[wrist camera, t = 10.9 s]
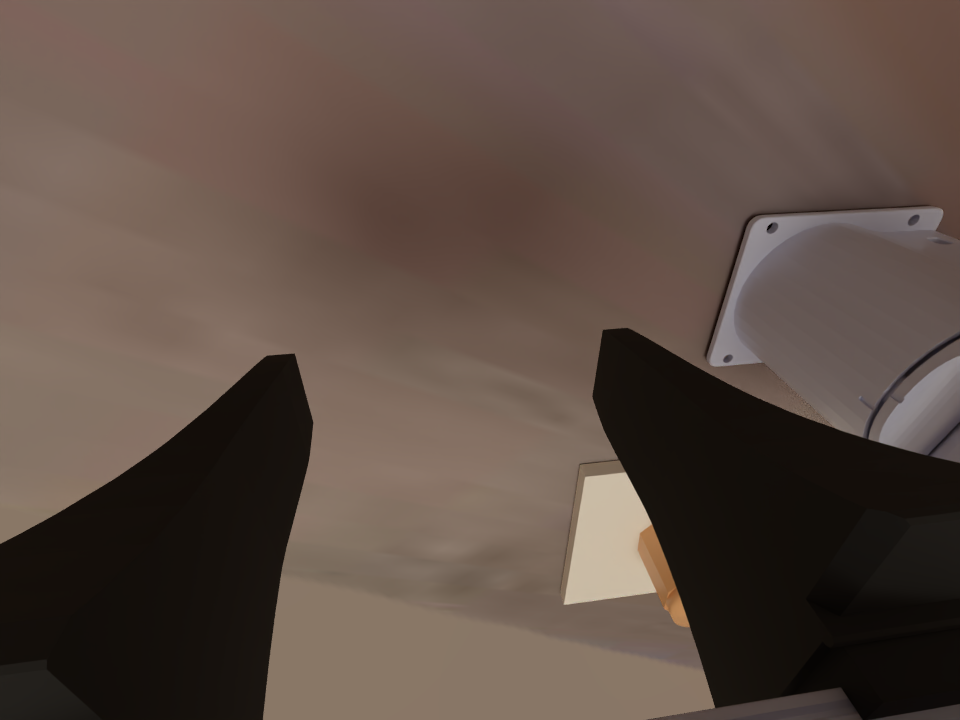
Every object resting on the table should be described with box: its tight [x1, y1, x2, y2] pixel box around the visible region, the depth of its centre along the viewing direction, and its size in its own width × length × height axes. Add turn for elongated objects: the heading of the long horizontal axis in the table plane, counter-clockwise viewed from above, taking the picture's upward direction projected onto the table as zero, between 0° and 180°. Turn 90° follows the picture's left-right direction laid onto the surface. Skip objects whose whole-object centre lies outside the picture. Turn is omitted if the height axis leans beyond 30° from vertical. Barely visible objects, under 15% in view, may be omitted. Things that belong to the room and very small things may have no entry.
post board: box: [560, 460, 656, 605], centre depth 32 cm, size 14×14×5 cm
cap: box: [638, 525, 690, 627], centre depth 31 cm, size 5×5×5 cm
